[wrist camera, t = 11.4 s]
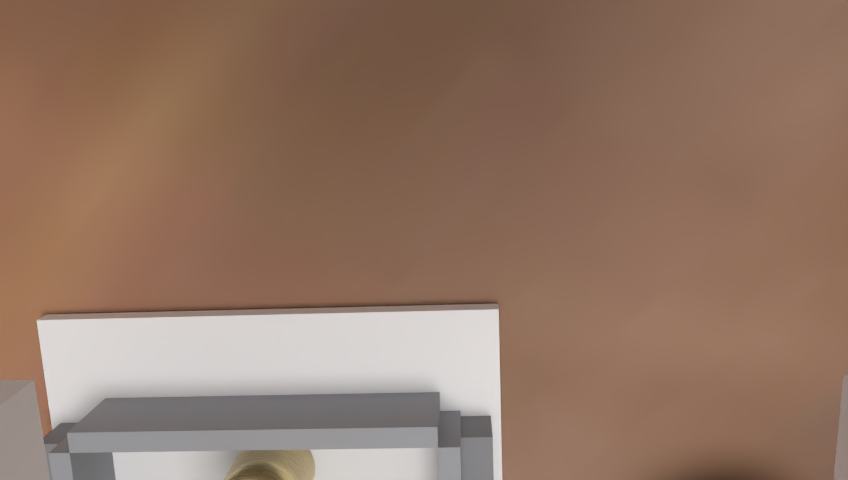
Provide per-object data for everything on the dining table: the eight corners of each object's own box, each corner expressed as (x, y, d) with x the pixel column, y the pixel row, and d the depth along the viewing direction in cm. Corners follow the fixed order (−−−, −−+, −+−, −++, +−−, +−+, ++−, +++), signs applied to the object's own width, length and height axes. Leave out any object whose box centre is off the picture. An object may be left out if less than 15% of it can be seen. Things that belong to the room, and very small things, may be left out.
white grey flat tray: (46, 314, 40) (-11, 346, 36) (497, 303, 39) (502, 335, 34) (85, 592, 44) (38, 657, 39) (503, 590, 42) (509, 657, 37)
